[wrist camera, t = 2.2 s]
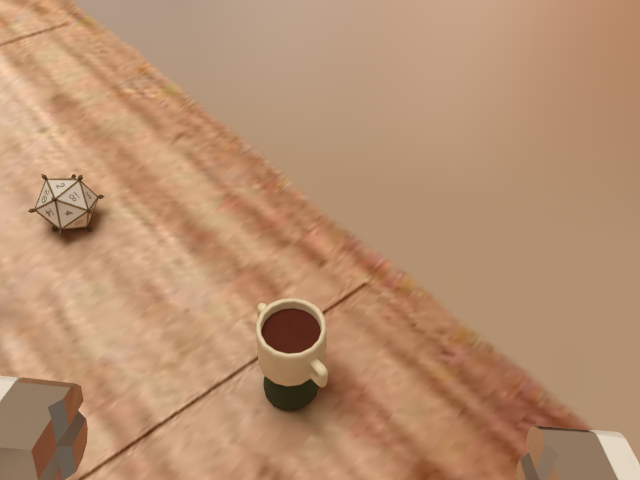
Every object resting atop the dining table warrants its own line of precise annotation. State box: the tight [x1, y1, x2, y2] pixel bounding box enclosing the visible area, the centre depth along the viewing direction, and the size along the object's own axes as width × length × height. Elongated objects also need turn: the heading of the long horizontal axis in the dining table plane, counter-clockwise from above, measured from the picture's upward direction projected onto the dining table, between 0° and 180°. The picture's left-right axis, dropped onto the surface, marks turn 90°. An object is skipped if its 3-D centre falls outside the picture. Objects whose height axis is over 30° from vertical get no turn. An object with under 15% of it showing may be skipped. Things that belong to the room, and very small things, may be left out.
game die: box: [28, 174, 104, 235], centre depth 81 cm, size 9×8×10 cm
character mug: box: [256, 298, 328, 410], centre depth 64 cm, size 11×7×13 cm, turn 41°
